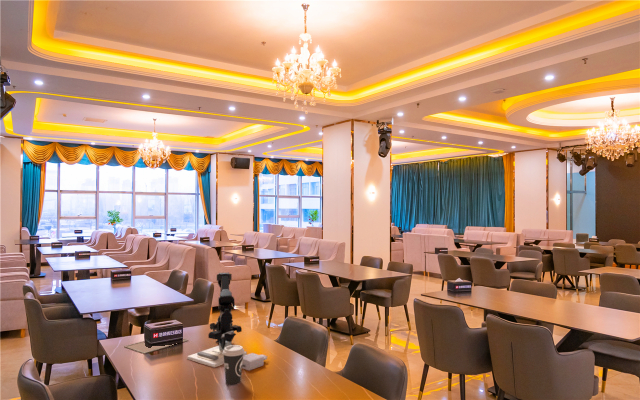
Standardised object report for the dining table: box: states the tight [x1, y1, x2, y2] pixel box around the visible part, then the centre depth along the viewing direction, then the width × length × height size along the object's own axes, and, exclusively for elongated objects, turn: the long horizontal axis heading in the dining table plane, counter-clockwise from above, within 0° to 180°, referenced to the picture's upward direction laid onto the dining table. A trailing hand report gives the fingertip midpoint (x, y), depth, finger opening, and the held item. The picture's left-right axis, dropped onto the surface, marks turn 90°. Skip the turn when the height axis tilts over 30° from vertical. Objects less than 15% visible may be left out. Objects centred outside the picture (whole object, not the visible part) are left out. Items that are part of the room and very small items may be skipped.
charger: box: [242, 352, 268, 372], centre depth 212 cm, size 5×9×15 cm
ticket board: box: [187, 345, 248, 368], centre depth 222 cm, size 22×20×3 cm
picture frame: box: [123, 338, 189, 355], centre depth 242 cm, size 19×1×28 cm
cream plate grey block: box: [213, 341, 232, 353], centre depth 226 cm, size 8×10×5 cm
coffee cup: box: [222, 344, 245, 386], centre depth 190 cm, size 10×10×15 cm
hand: (225, 348), depth 226 cm, fingers closed on cream plate grey block, 3 cm apart
